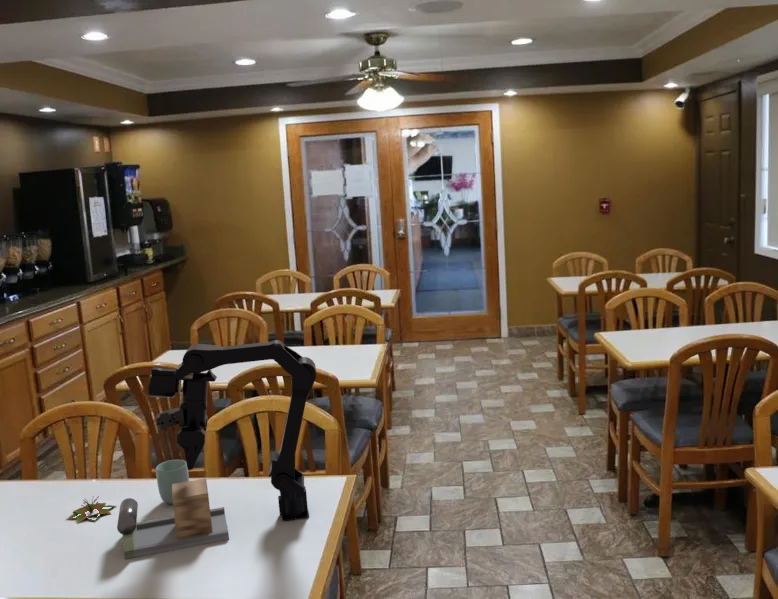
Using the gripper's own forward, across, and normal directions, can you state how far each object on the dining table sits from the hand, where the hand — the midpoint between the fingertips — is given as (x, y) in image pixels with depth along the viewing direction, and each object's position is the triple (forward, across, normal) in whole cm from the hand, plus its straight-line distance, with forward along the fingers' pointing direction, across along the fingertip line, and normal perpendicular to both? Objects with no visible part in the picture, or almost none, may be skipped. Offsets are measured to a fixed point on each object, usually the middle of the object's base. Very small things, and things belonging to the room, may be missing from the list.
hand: (191, 462), depth 176 cm
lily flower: (+20, -19, -25) cm, 37 cm away
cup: (+16, -19, -4) cm, 25 cm away
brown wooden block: (+15, +1, +2) cm, 16 cm away
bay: (+17, +1, -2) cm, 17 cm away
